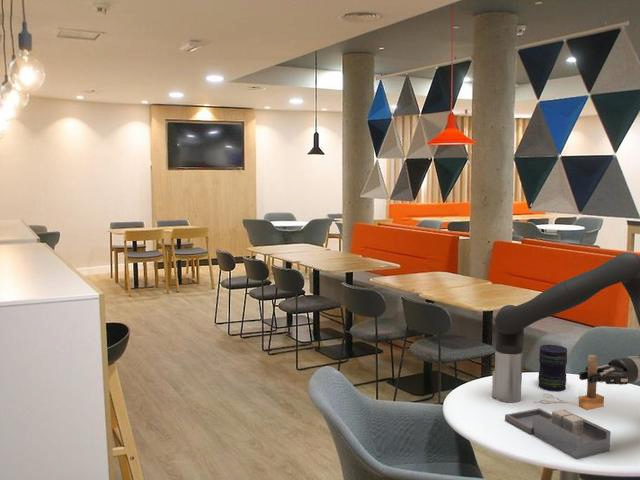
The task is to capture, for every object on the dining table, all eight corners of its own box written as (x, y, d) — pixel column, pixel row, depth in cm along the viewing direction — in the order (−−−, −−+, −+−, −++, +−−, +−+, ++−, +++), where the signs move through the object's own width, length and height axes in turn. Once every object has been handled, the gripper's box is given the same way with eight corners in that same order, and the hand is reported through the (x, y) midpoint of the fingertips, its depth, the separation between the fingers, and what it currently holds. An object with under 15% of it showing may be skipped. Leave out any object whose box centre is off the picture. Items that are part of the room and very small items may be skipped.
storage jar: (571, 390, 231) (573, 351, 230) (547, 392, 229) (549, 352, 228) (556, 381, 241) (557, 343, 239) (532, 383, 239) (534, 345, 237)
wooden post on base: (578, 406, 181) (580, 356, 180) (595, 403, 184) (597, 353, 182) (586, 410, 179) (588, 359, 177) (603, 406, 181) (605, 356, 179)
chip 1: (551, 423, 191) (552, 411, 191) (561, 421, 193) (562, 409, 192) (561, 428, 187) (561, 416, 187) (571, 426, 189) (572, 413, 188)
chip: (562, 429, 187) (562, 416, 187) (572, 427, 188) (573, 414, 188) (572, 434, 183) (573, 421, 183) (583, 432, 185) (583, 419, 184)
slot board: (532, 434, 193) (532, 415, 193) (563, 427, 198) (564, 409, 197) (576, 458, 177) (577, 438, 176) (609, 451, 181) (610, 431, 181)
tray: (505, 420, 204) (505, 414, 204) (539, 414, 209) (539, 408, 209) (530, 434, 193) (530, 428, 193) (565, 427, 198) (565, 421, 198)
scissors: (539, 392, 229) (598, 401, 219) (539, 394, 229) (598, 403, 219) (533, 401, 220) (595, 411, 210) (533, 403, 220) (595, 413, 210)
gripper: (609, 351, 192) (566, 358, 185) (649, 364, 179) (604, 372, 172) (608, 375, 192) (565, 383, 186) (648, 389, 180) (603, 398, 173)
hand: (584, 377), depth 179 cm, fingers closed on wooden post on base, 2 cm apart
